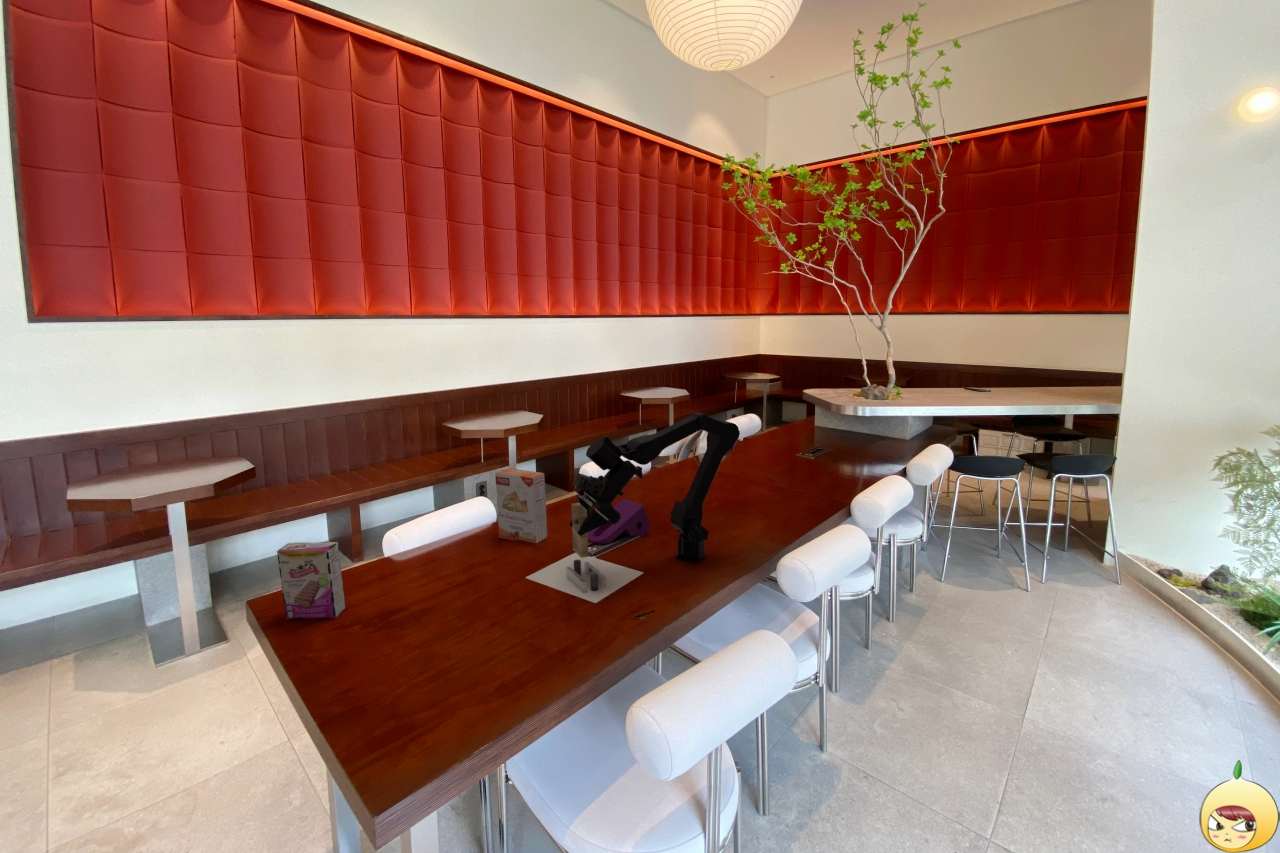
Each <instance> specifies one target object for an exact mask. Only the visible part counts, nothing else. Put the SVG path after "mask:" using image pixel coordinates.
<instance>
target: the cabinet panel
mask: <svg viewBox="0 0 1280 853" xmlns="http://www.w3.org/2000/svg"><path fill="white" fill-rule="evenodd" d="M574 560H581V575H580V576H581V577H582V578H583V579H584V580H585V581H587V592H584V593H583V592H582V591H581V590H580V589H579V588H578V587H577V586H576V585H575V584H574V583H573V582H572V581H571V580H569V579H568V578H567V577H566V567H569V566H570V567H571V568H572V569H573V570H574ZM586 562H589V563H590V564H591V565H592V566H593V567H595V568H596V569H597V570H598V571H599V572H601V573H602V574H603V575H604V576H605V577H606V587H601V586H600V585H599V584H598V590H597V591H591V580H590V576H589V575H587V574H586V573H585V569H584V563H586ZM643 574H644V572H643V571H639V570H635V569H633V568H629V567H627V566H624V565H619V564H616V563H613V562H609V561H606V560H602V559H599V558H596V557H593V556H590V555H589V557H584V558H580V556H579V555H578V554H577V553H576V552H573V553H572V554H569V555H568V556H565V557H564V558H561V559H559V560H558V561H556V562H554V563H552V564H549V565H547V566H545V567H543V568H541V569H539V570H537V571H536V572H534V573H531V574H530V575H528V576H525V579H527V580H530V581H533V582H535V583H539V584H541V585H544V586H546V587H549V588H551V589H552V588H553V589H554V590H558V591H560V592H563V593H565V594H569V595H572V596H575V597H578V598H580V599H583V600H586V601H588V602H591V603H594V604H597V603H599V602H601V601H602V600H603V599H605V598H606V597H608V596H610V595H611V594H612V593H615V592H616V591H618V590H619V589H620V588H623V586H625V585H627V584H629V583H630V582H632V581H633V580H635V579H636V578H638V577H640V576H641V575H643Z"/></svg>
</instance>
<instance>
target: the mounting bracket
mask: <svg viewBox="0 0 1280 853" xmlns="http://www.w3.org/2000/svg"><path fill="white" fill-rule="evenodd" d="M613 508H614V509H615V510H616V511H618V512H619V513H620V518H621V519H620V520H619V522H618V523H617V524H616V525H615V524H614V523H612V522H611V521H610V520H608V521H609V522H610V523H609V524H608V523H607V524H605V525H603V526H600V527H598V528H596V529H594V530H592V531H589V532H588V542H591V543H593V544H599V545H600V544H601V545H604V544H605V545H607V544H610V543H611V542H612V541H614V540H616V539H617V538H618V537H619V536H620V535H621V534H622V533H623V532H624V533H625V534H626V535H628V536H630V537H634V536H638V535H639V537H640V538H641V536H642V537H644V536H645V534H647V532H648V530H649V526H650V518H649V516H648V514H647V512H646V509H645V507H644V505H641V504H639V503H636V502H633V501H631V500H628V499H626V498H623V499H622V500H620V501H619V502H618V503H617V504H616V505H614V506H613ZM624 530H625V531H624Z"/></svg>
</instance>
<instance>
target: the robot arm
mask: <svg viewBox="0 0 1280 853" xmlns="http://www.w3.org/2000/svg"><path fill="white" fill-rule="evenodd" d="M701 430H702V431H703V432H706V433H707V434H706V450H705V453H704V454H703V457H702V459H701V461H700V464H699V466H698V468H697V471H696V473H695V475H694V477H693V480H692V482H691V484H690V487H689V489H688V491H687V493H686V495H685V497H684V498H683V499H682V500H681V501H679V500H678V499H676V501H675V502H674V503H673V504H674V506H673V508H672V509H671V511H670V512H669V513H670V514H669V515H670V523H671V525H672V526H673V528H674V529H675V530H676V532H677V533H679V534H678V539H677V555H675V558H676V559H678V560H683V561H687V562H689V563H692V562H694V563H693V564H698V563H699V562H700V561H701V559H702V560H703V559H704V557H705V556H706V557H707V556H708V553H706V552H705V541H706V540H708V537H709V534H710V532H709V531H708V529H706V528H705V527H704V526H703V525H702V521H703V517H704V513H703V512H704V511H703V510H704V508H703V507H704V506H703V504H704V503H705V500H706V497H707V496H708V493H709V490H710V488H711V486H712V484H713V482H714V479H715V477H716V475H717V472H718V470H719V467H720V466H721V462H722V460H723V458H724V456H725V455H727V453H728V452H729V451H731V450H732V449H733V448H734V446H735V445H736V443H737V442H738V440H739V438H740V434H741V433H740V432H741V431H740V429H739V426H738V425H737V424H735V423H734V422H730V421H727V420H723V419H715V418H712V417H709V416H708V415H707V414H705V413H700V412H698V411H697V412H693V413H691V414H690V416H687V417H686V418H683V419H682V420H679V421H678V422H675V423H674V424H671V425H669V426H667V427H665V428H664V429H662V430H659V431H658V432H655V433H652V434H646V435H639V436H637V437H634V438H631V439H629V440H628V441H627V442H626V443H623V444H619V445H615V444H614V443H613V441H611V439H610V438H609V437H608V436H606V435H602V437H601V438H598V439H597V440H595V441H594V442H592V443H591V444H590V445H589V446H588V448H587V450H586V452H585V456H586V457H587V458H588V459H589V460H590V461H591V462H593V463H594V464H595V465H596V466H597V467H599V469H601V470H602V471H607V470H608V471H607V473H606V474H604V476H603V475H599V476H598V477H596V476H593V475H590V476H589V475H586V474H583V473H580V472H577V473H576V476H575V479H574V481H573V484H572V485H573V486H574V487H575V488H574V489H573V491H574V492H575V493H576V495H575V497H576V499H577V500H576V503H580V504H581V505H582V506H583V507H584V508H585V509H587V518H586V520H585V521H584V523H583V524H582V526H581V527H580V529H579V531H578V534H579V535H580V536H581V535H583V534H585V533H587V532H589V531H592V530H594V529H596V528H598V527H600V526H603V525H605V524H607V523H608V524H609V523H610V522H609V521H608V520H610V521H611V522H612V523H614V524H615V525H616V524H617V523H618V522H619V520H620V519H621V518H620V513H619V512H618V511H616V510H615V509H614V508H613V507H614V506H613V505H612V503H613V502H614V501H615V500H616V499H617V497H618V496H620V497H622V496H623V495H624V492H623V490H624V489H625V487H626V486H628V484H629V483H630V481H631V480H632V479H633V477H634V476H636V477H637V478H639V479H641V480H642V479H643V478H644V477H643V467H641V466H644V465H648V464H650V463H651V462H652V461H654V460H655V459H657V458H658V457H659V456H660V455H661V453H662V451H664V450H665V449H667V448H669V447H670V446H672V445H674V444H677V443H679V442H681V441H682V440H684V439H686V438H688V437H690V436H692V435H694V434H696V433H698V432H700V431H701ZM621 457H623V458H625V459H626V460H624V459H623V458H621ZM631 461H633V462H635V463H637V464H638V465H635V464H634V463H633V462H631ZM639 465H641V466H639ZM568 525H569V526H570V527H571V528H572V518H571V519H570V522H569V523H568ZM706 557H705V558H706ZM698 561H699V562H698Z"/></svg>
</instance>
